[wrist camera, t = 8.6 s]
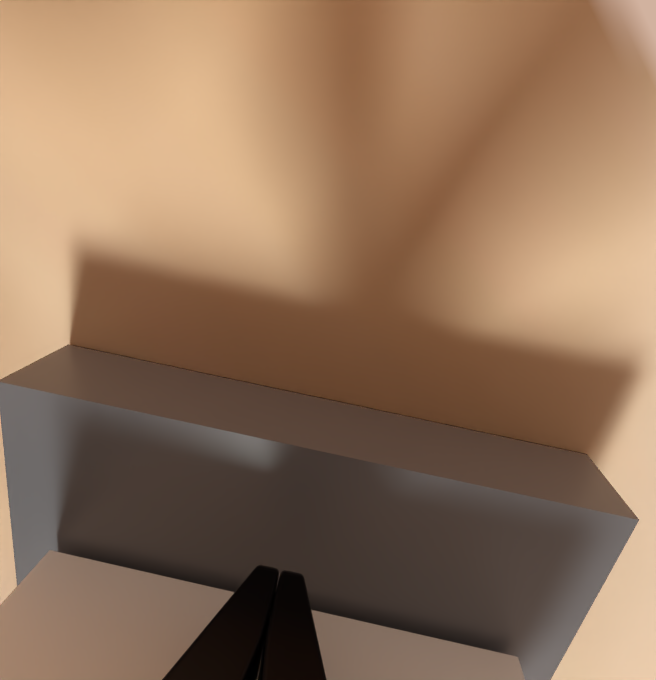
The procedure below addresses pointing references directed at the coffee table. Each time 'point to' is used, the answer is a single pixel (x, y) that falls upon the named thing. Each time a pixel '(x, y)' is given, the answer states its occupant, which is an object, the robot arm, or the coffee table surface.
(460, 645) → the knob
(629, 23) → the coffee table surface
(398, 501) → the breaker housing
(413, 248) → the coffee table surface
